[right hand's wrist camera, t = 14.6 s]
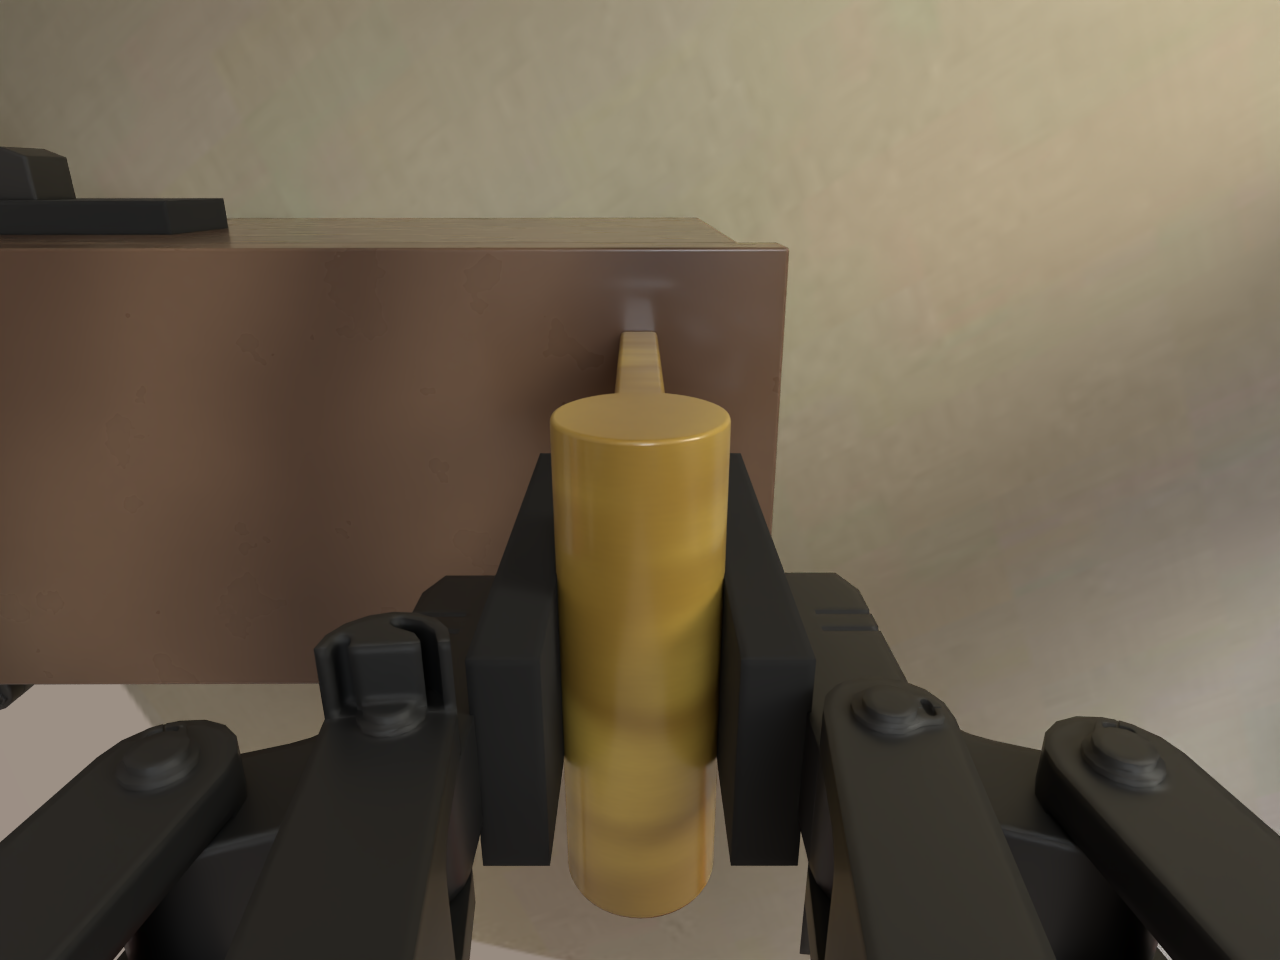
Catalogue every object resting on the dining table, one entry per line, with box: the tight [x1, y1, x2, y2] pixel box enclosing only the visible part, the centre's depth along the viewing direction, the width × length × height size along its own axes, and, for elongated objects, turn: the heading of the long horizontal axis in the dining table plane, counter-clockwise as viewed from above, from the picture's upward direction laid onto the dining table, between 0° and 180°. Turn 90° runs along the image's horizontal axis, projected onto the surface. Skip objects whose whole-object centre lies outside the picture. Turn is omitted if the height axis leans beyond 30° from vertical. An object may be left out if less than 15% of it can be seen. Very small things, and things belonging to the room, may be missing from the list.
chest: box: [0, 218, 737, 244], centre depth 23 cm, size 17×10×11 cm, turn 90°
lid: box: [0, 243, 789, 918], centre depth 13 cm, size 18×10×8 cm, turn 90°
